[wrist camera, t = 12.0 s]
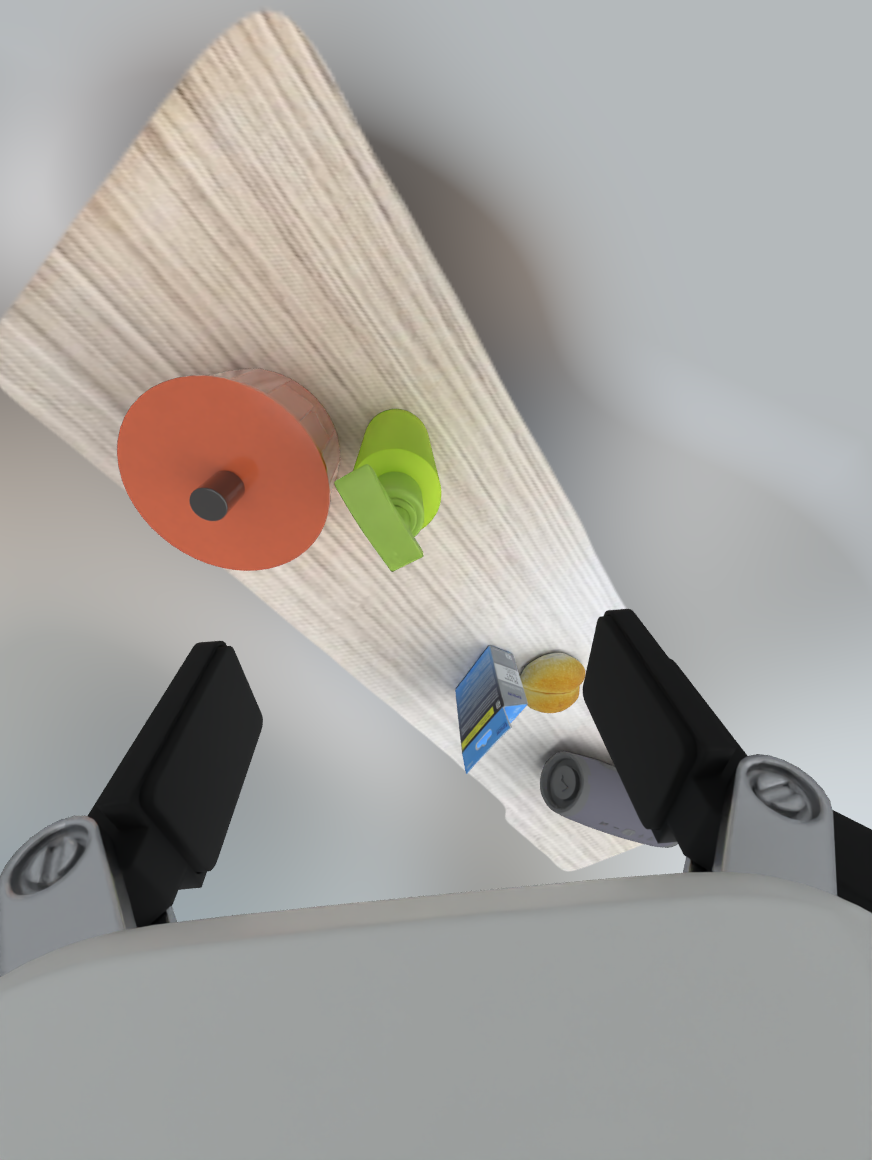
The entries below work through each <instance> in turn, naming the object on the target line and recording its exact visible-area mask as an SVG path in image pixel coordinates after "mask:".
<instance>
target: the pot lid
mask: <svg viewBox="0 0 872 1160" xmlns="http://www.w3.org/2000/svg"><path fill="white" fill-rule="evenodd" d="M117 457H118V466H119V470H120V474H121V478H122V481H123V484H124V486H125V489H126V491H127V494H128V495H129V497H130V499H131V501H132V503H133V504H134V506H135V508H136V509H137V510H138V512H139V513H140V515H141V516H142V517H143V519H144V520H145V521H146V522H147V523H148V524H149V525H150V527H151V528H152V529H154V530H155V531H156V532H157V533H158V534H159V535H160V536H161V537H162V538H163V539H165V540H166V541H167V542H169V543H170V544H171V545H173V546H174V547H176V548H177V549H179V550H180V551H182V552H183V553H186V554H188V555H189V556H191V557H193V558H195V559H197V560H200V561H203V562H205V563H207V564H211V565H215V566H218V567H221V568H227V569H232V570H243V571H250V570H263V569H269V568H273V567H277V566H280V565H282V564H285V563H287V562H290V561H291V560H293V559H295V558H297V557H298V556H300V555H301V554H302V553H303V552H305V551H306V550H307V549H308V548H309V547H310V546H311V545H312V544H313V543H314V542H315V540H316V539H317V537H318V536H319V534H320V533H321V531H322V529H323V527H324V525H325V522H326V519H327V515H328V512H329V507H330V497H331V488H330V480H329V474H328V471H327V467H326V463H325V461H324V458H323V456H322V453H321V451H320V449H319V447H318V446H317V444H316V442H315V440H314V438H313V437H312V436H311V434H310V433H309V431H308V430H307V429H306V427H305V426H304V425H303V424H302V423H301V422H300V420H299V419H298V418H297V417H296V416H295V415H294V414H293V413H292V412H291V411H289V410H288V409H287V408H286V407H285V406H284V405H283V404H281V403H280V402H278V401H277V400H276V399H274V398H273V397H271V396H270V395H268V394H266V393H265V392H263V391H261V390H259V389H257V388H255V387H253V386H251V385H248V384H246V383H243V382H241V381H237V380H234V379H230V378H226V377H220V376H213V375H190V376H183V377H178V378H174V379H171V380H168V381H165V382H162V383H160V384H158V385H156V386H154V387H152V388H150V389H149V390H148V391H146V392H145V393H144V394H142V395H141V396H140V397H139V398H138V399H137V400H136V401H135V402H134V404H133V405H132V406H131V407H130V409H129V411H128V412H127V414H126V415H125V417H124V420H123V422H122V425H121V428H120V432H119V437H118V444H117Z"/></svg>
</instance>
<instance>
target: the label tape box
mask: <svg viewBox="0 0 872 1160" xmlns="http://www.w3.org/2000/svg"><path fill="white" fill-rule="evenodd" d="M455 692H456V701H457V711H458V721H459V729H460V739H461V747H462V755H463V760H464V765H465V771H466V774H468V772H469V771H470V770H471V769H472V768H473V767H474V765H475V764H476V763H477V762H478V761H479V760H480V759H481V758H482V757H483V756H484V755H485V754H486V753H487V752H488V751H489V750H490V749H491V748H492V747H493V746H494V744H495V743H496V742H497V741H498V740H499V739H500V738H501V737H502V736H503V735H504V734H505V733H506V732H507V731H508V730H509V729H511V728H512V726H511V724H510V723H511V722H512V721H513V720H514V719H515V718H516V717H517V716H518V715H519V713H520V712H521V711H522V710H523V709H524V708H525V707H526V706H527V705H528V702H527V698H526V695H525V692H524V689H523V685H522V682H521V679H520V676H519V672H518V669H517V666H516V662H515V659H514V656H513V654H511V653H509V652H506V651H504V650H501V649H499V648H496V647H493V646H488V647H487V649H486V650H485V651H484V653H483V654H482V655H481V657H480V658H479V659H478V661H477V662H476V663H475V665H474V666H473V667H472V669H471V670H470V671H469V673H468V674H467V675H466V677H465V678H464V679H463V681H462V682H461V683H460V685H459V686H458V687H457V689H456V690H455Z"/></svg>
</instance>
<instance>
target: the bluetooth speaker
mask: <svg viewBox="0 0 872 1160" xmlns="http://www.w3.org/2000/svg"><path fill="white" fill-rule="evenodd" d="M540 789H541V794H542V797H543V799H544V801H545V803H546V804H547V806H548V807H549V808H550V809H551V810H553V811H554V812H556V813H558V814H560V815H561V816H564V817H566V818H568V819H570V820H573V821H575V822H578V823H580V824H583V825H586V826H588V827H591V828H594V829H596V830H599V831H602V832H605V833H608V834H611V835H614V836H617V837H621V838H624V839H627V840H631V841H635V842H639V843H642V844H647V845H650V846H655V847H665V848H669V847H673V846H676V845H677V844H678V842H671V843H660V844H658V843H657V841H656V839H655V837H654V835H653V832H652V830H651V829H646V828H644V826H643V825H642V823H641V821H640V819H639V817H638V815H637V813H636V811H635V809H634V807H633V804H632V802H631V800H630V798H629V796H628V794H627V791H626V789H625V787H624V785H623V783H622V781H621V778H620V776H619V774H618V772H617V770H616V768H615V766H612V765H610V764H607V763H605V762H602V761H600V760H597V759H594V758H591V757H584V756H581V755H578V754H574V753H570V752H563V751H562V752H558V753H556V754H555V755H553V756H552V757H551V758H550V759H549V760H548V761H547V762H546V763H545V765H544V767H543V770H542V773H541V778H540Z"/></svg>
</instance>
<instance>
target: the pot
mask: <svg viewBox="0 0 872 1160" xmlns="http://www.w3.org/2000/svg"><path fill="white" fill-rule="evenodd" d="M213 376H220V377H226V378H230V379H234V380H237V381H241V382H243V383H246V384H248V385H251V386H253V387H255V388H257V389H259V390H261V391H263V392H265V393H266V394H268V395H270V396H271V397H273V398H274V399H276V400H277V401H278V402H280V403H281V404H283V405H284V406H285V407H286V408H287V409H288V410H289V411H291V412H292V413H293V414H294V415H295V416H296V417H297V418H298V419H299V420H300V422H301V423H302V424H303V425H304V426H305V427H306V429H307V430H308V431H309V433H310V434H311V436H312V437H313V438H314V440H315V442H316V444H317V446H318V447H319V449H320V451H321V453H322V456H323V458H324V461H325V463H326V467H327V471H328V474H329V480H330V488H331V492H332V489H333V487H334V482H335V481H336V477H337V473H338V469H339V464H340V458H341V457H340V448H339V441H338V437H337V433H336V430H335V427H334V425H333V423H332V421H331V419H330V417H329V415H328V413H327V412H326V410H325V409H324V407H323V406H322V405H321V403H320V402H319V401H318V400H317V399H316V398H315V397H314V396H313V395H312V394H311V393H310V392H309V391H308V390H307V389H305V388H304V387H303V386H301V385H300V384H299V383H297V382H295V381H294V380H292V379H290V378H288V377H286V376H284V375H281V374H279V373H276V372H272V371H269V370H264V369H262V368H255V369H240V370H228V371H225V372H221V373H218V374H215V375H213Z"/></svg>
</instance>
